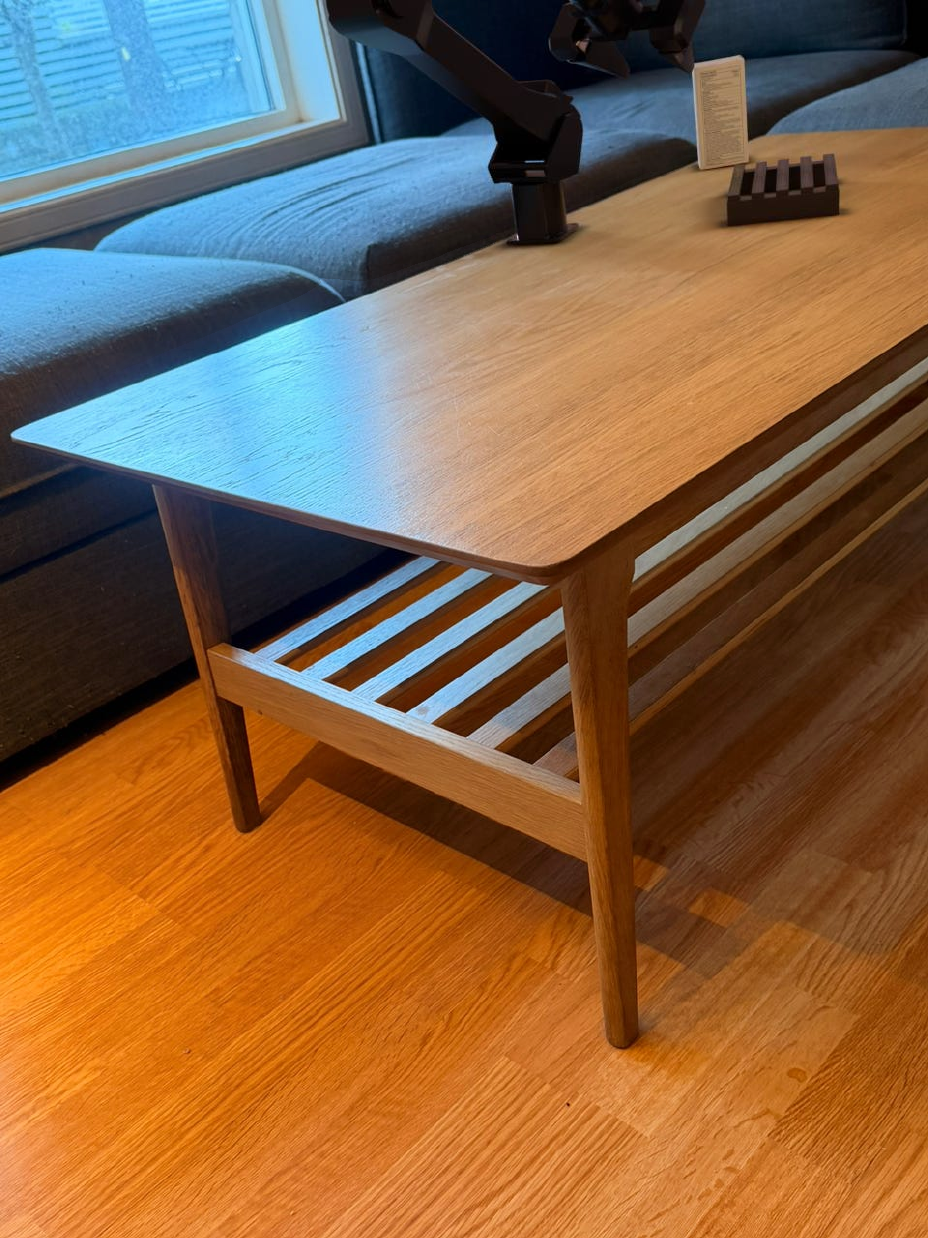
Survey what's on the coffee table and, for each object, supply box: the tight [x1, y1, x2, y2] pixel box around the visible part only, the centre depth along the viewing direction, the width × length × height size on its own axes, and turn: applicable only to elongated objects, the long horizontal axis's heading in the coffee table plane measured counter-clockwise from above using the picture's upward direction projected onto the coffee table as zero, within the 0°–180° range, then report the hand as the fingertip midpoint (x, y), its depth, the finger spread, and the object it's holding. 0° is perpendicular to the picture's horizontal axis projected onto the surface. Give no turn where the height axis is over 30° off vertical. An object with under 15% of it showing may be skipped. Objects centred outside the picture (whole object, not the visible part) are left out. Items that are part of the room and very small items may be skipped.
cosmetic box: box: [691, 54, 750, 171], centre depth 142 cm, size 6×4×12 cm
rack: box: [726, 152, 841, 227], centre depth 121 cm, size 16×11×3 cm
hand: (659, 72), depth 132 cm, fingers open, 9 cm apart
